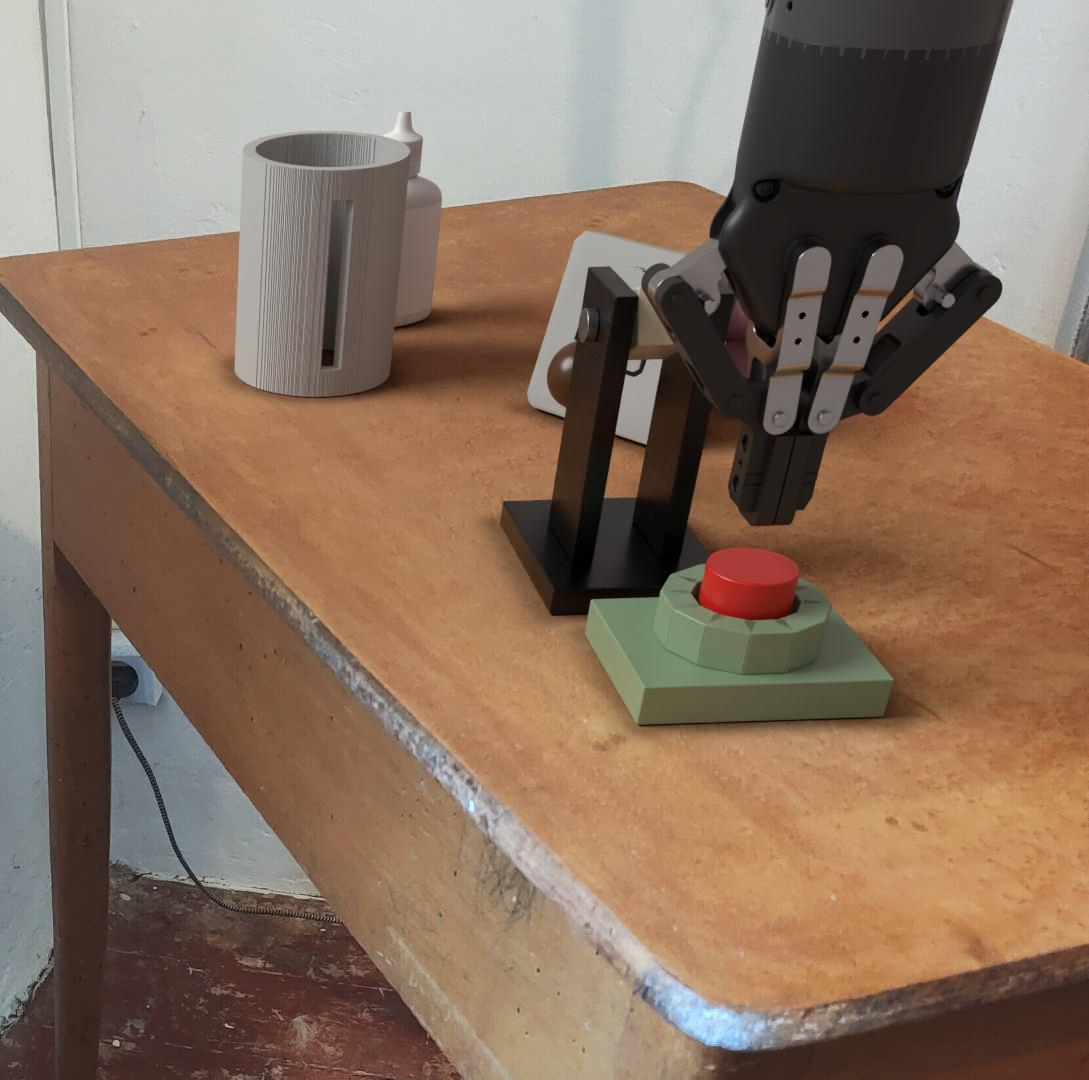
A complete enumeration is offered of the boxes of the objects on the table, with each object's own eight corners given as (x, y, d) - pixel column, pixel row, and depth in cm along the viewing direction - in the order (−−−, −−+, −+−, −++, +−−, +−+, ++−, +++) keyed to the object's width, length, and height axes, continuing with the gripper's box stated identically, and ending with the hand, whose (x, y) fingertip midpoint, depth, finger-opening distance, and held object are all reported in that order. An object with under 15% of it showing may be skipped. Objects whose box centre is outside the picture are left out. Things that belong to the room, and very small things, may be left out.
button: (772, 585, 72) (782, 545, 71) (803, 624, 70) (814, 583, 69) (686, 587, 72) (695, 548, 71) (714, 627, 70) (723, 586, 68)
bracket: (499, 524, 85) (537, 249, 77) (661, 519, 85) (716, 244, 78) (549, 615, 78) (598, 319, 70) (728, 609, 78) (796, 313, 70)
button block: (811, 627, 76) (831, 551, 74) (883, 717, 70) (908, 637, 68) (584, 634, 76) (597, 559, 74) (636, 725, 70) (652, 645, 68)
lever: (538, 416, 86) (538, 349, 86) (602, 415, 86) (603, 347, 86) (625, 355, 73) (626, 276, 73) (700, 353, 74) (702, 274, 73)
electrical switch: (520, 408, 98) (556, 231, 92) (578, 396, 101) (616, 223, 95) (659, 456, 92) (706, 269, 87) (716, 441, 95) (765, 260, 89)
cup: (322, 335, 108) (337, 123, 101) (421, 375, 102) (444, 153, 95) (204, 364, 104) (210, 146, 97) (300, 407, 98) (314, 178, 91)
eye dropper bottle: (434, 330, 108) (456, 119, 101) (343, 330, 109) (358, 119, 101) (428, 309, 112) (449, 102, 104) (340, 308, 112) (355, 103, 105)
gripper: (723, 43, 55) (623, 563, 65) (1138, 35, 55) (971, 553, 66) (652, 3, 61) (572, 486, 71) (1027, -4, 61) (891, 478, 72)
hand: (763, 517), depth 69 cm, fingers closed
